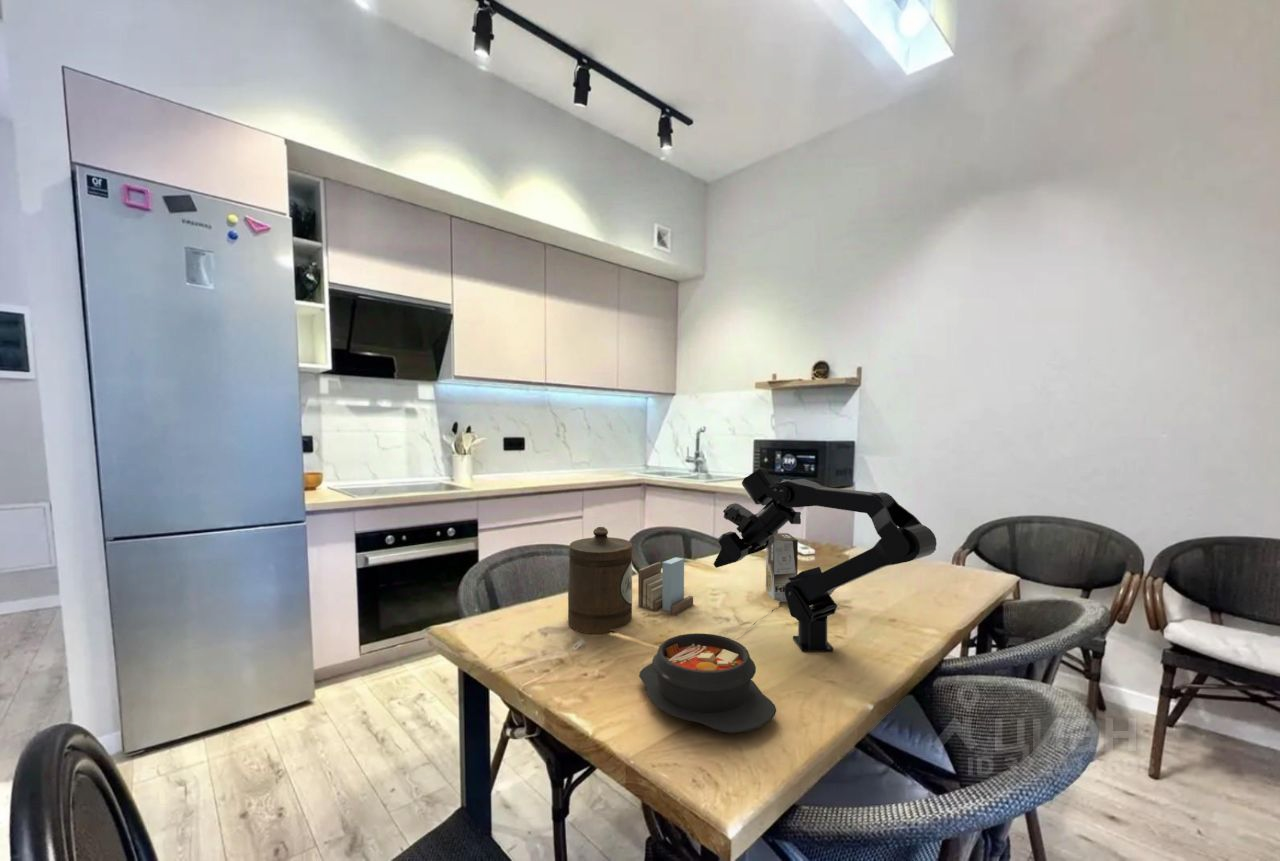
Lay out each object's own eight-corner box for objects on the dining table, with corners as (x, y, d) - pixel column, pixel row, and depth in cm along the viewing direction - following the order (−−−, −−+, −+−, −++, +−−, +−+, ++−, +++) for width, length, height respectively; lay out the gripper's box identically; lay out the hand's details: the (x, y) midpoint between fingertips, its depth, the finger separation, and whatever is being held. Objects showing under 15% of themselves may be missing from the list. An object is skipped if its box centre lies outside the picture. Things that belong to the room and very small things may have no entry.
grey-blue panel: (684, 604, 127) (684, 558, 126) (671, 611, 122) (671, 564, 122) (675, 602, 128) (675, 557, 128) (662, 609, 123) (662, 562, 123)
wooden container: (641, 628, 114) (641, 530, 113) (577, 639, 108) (577, 536, 108) (619, 606, 127) (619, 519, 127) (561, 614, 122) (561, 523, 122)
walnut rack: (694, 607, 126) (694, 568, 126) (675, 619, 119) (675, 577, 119) (658, 599, 133) (658, 561, 133) (638, 609, 126) (638, 569, 126)
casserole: (614, 687, 88) (614, 639, 88) (693, 658, 99) (693, 615, 99) (718, 764, 68) (718, 702, 68) (802, 716, 79) (802, 663, 79)
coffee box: (798, 602, 130) (798, 540, 130) (773, 602, 130) (773, 539, 130) (788, 591, 139) (789, 532, 139) (765, 590, 140) (765, 532, 139)
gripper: (762, 489, 124) (722, 528, 131) (726, 497, 110) (683, 541, 116) (793, 525, 120) (750, 563, 126) (759, 539, 105) (712, 582, 112)
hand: (724, 561), depth 120 cm, fingers open, 9 cm apart
